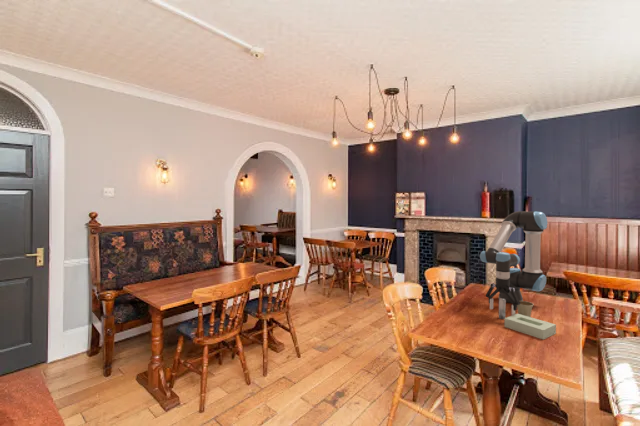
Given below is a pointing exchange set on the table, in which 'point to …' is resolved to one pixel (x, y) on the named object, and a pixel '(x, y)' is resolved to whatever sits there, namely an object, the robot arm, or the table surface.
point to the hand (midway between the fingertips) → (502, 312)
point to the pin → (502, 308)
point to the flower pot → (525, 308)
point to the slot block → (530, 326)
